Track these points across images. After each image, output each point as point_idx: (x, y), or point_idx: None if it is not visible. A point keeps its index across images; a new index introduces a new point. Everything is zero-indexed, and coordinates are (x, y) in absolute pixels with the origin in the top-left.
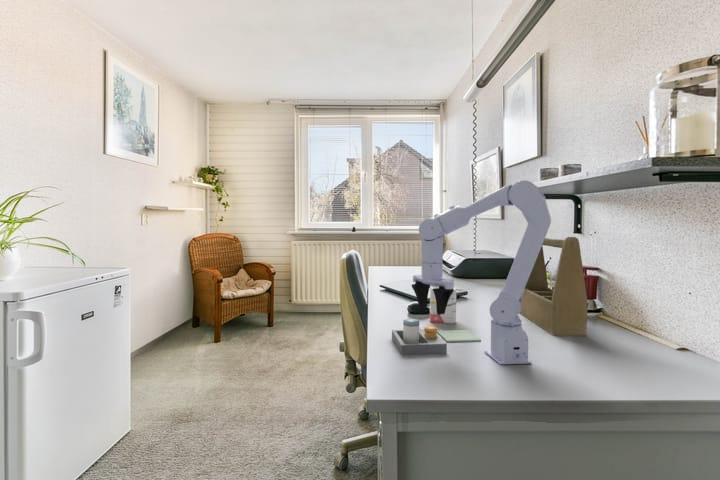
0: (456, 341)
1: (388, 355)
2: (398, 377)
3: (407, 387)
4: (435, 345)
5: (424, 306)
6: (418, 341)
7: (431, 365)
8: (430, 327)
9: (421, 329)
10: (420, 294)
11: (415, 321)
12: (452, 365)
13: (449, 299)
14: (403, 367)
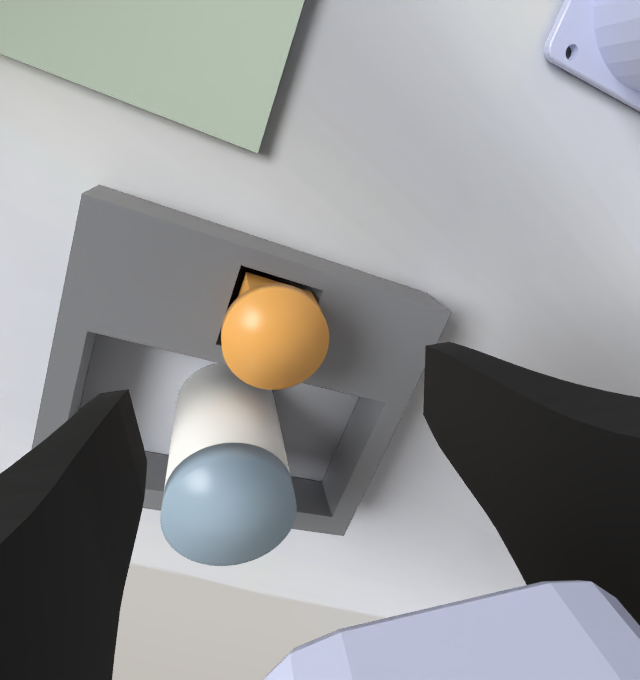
0: (280, 72)
1: (311, 546)
2: (512, 574)
3: None
4: (418, 372)
5: (131, 430)
6: (271, 398)
7: None
8: (260, 335)
9: (70, 287)
10: (100, 622)
11: (263, 496)
12: (553, 361)
13: None
14: (454, 536)
